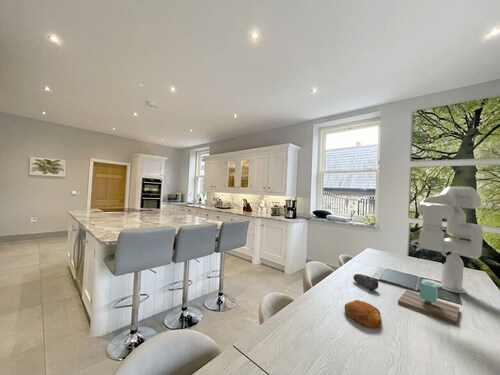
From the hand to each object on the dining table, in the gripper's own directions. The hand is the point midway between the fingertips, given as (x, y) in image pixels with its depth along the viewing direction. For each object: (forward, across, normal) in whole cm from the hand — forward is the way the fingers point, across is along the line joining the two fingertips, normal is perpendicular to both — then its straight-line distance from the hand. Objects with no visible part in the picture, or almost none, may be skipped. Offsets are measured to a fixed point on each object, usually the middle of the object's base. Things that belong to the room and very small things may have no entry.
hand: (430, 260), depth 109 cm
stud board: (+24, 0, +1) cm, 24 cm away
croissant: (+24, +18, +38) cm, 49 cm away
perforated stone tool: (+24, +30, +3) cm, 39 cm away
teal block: (+20, 0, +1) cm, 20 cm away
